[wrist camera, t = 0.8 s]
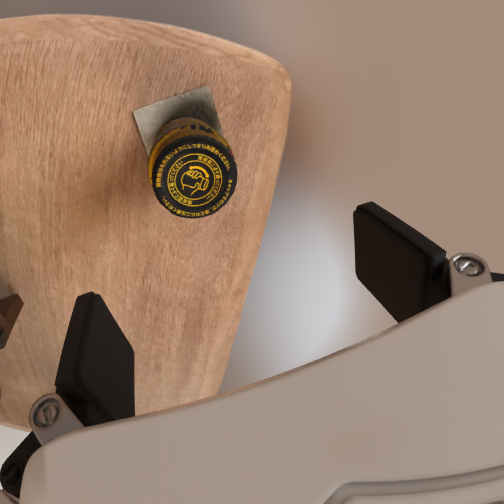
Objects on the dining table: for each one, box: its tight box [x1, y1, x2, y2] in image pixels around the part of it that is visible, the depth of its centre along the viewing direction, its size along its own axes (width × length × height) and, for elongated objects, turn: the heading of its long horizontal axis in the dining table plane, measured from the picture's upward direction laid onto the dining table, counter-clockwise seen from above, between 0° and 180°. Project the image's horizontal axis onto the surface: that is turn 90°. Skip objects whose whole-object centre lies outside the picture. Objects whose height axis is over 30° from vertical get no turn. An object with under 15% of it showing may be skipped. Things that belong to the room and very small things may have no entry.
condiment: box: [133, 86, 237, 218], centre depth 23 cm, size 7×8×12 cm
